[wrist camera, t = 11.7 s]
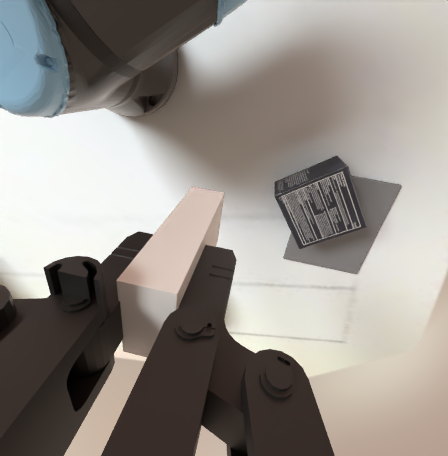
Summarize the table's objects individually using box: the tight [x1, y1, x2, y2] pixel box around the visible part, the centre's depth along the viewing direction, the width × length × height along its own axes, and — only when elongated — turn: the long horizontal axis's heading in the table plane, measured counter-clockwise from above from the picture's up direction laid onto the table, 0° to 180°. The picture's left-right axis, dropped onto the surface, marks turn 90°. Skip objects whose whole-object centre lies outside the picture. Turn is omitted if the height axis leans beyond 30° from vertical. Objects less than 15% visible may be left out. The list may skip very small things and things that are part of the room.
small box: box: [275, 156, 367, 249], centre depth 41 cm, size 11×6×10 cm
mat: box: [284, 176, 401, 274], centre depth 46 cm, size 14×18×1 cm
